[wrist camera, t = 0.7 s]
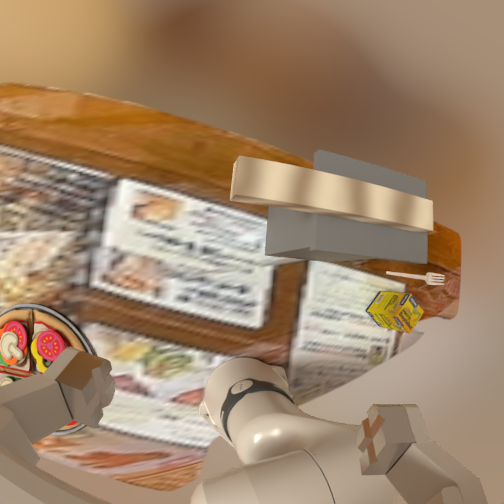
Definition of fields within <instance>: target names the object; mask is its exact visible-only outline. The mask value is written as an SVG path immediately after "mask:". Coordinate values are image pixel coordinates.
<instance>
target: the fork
mask: <svg viewBox="0 0 504 504" xmlns="http://www.w3.org/2000/svg"><path fill="white" fill-rule="evenodd" d="M387 274H390V275H396V276H402V277H408V278H415V279H421V280H425V281H426V283H427V284H430V285H444V284H442V283H434V282H431V281H441V282H444V281H443V280H433V279H431V278H436V279H445V278H441V277H432V276H445V275H441V274H436V273H427V274H426V275H416V274H407V273H398V272H389V271H387Z"/></svg>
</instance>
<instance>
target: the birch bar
mask: <svg viewBox="0 0 504 504" xmlns="http://www.w3.org/2000/svg"><path fill="white" fill-rule="evenodd" d="M230 201H237V202H244V203H251V204H258V205H265V206H271V207H278V208H284V209H291V210H297V211H303V212H309V213H316V214H321V215H327V216H333V217H339V218H345V219H350V220H356V221H361V222H367V223H372V224H377V225H382V226H388V227H393V228H398V229H403V230H408V231H412V232H417V233H423V232H429V231H433V201H430V200H428V199H424V198H421V197H418V196H414V195H411V194H408V193H404V192H401V191H397V190H394V189H390V188H386V187H383V186H379V185H375V184H371V183H368V182H364V181H360V180H356V179H352V178H348V177H343V176H339V175H335V174H331V173H326V172H322V171H317V170H313V169H308V168H303V167H298V166H294V165H289V164H284V163H278V162H273V161H268V160H262V159H257V158H251V157H245V156H239V157H238V158H237V160H236V162H235V163H234V167H233V176H232V186H231V195H230Z"/></svg>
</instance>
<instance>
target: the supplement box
mask: <svg viewBox="0 0 504 504" xmlns="http://www.w3.org/2000/svg"><path fill="white" fill-rule="evenodd" d="M366 312H367V313H368V314H369V315H370V316H371V317H372V318H373V319H374V321H375V322H376V323H377V324H378V326H380V327H384V328H388V329H393V330H398V331H402V332H407V333H411V331H412V330H413V328H414V326H415V325H416V323H417V322H418V320H419V319H420V317H421V316H422V314H423V313H424V310H423V309H422V308H421V307H420V306H419V304H418V303H417V301H416V300H415V298H414V297H413V295H412V294H411V293H396V292H383V291H379V293H378V294H377V295H376V297H375V298H374V300H373V301H372V302H371V304H370V305H369V307H368V308H367V309H366Z"/></svg>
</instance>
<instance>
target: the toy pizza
mask: <svg viewBox="0 0 504 504" xmlns="http://www.w3.org/2000/svg"><path fill="white" fill-rule="evenodd" d="M70 346H71V347H73V348H76V349H78V350H81V351H84V352H87V353H90V354H92V355H93V353H92V351H91V349H90V347H89V345H88V344H87V342H86V341H85V339H84V338H83V336H82V335H81V334H80V332H79V331H78V330H77V329H76V328H75V327H74V326H73V325H72V324H71V323H70V322H69V321H68V320H67V319H66V318H64V317H63V316H62V315H60V314H59V313H57V312H55V311H53V310H52V309H49V308H47V307H44V306H41V305H37V304H29V303H26V304H18V305H14V306H11V307H9V308H7V309H5V310H4V311H2V312H1V313H0V386H3V385H6V384H9V383H12V382H15V381H18V380H21V379H24V378H27V377H30V376H33V375H36V374H38V373H39V374H43V373H44V372H45V371H46V370H47V369H48V368H49V366H50V365H51V364H52V363H53V362H54V361H55V360H56V359H57V357H58V356H59V355H60V354H61V353H62V352H63V351H64V350H65V349H66V348H67V347H70ZM84 426H85V425H84V424H82V423H79V422H77V421H74V420H73V422H71V423H69V424H68V425H66V426H64V427H62V428H61V429H59V430H57V431H55V432H54V433H52V435H63V434H69V433H72V432H75V431H77V430H79V429H81V428H82V427H84Z"/></svg>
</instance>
